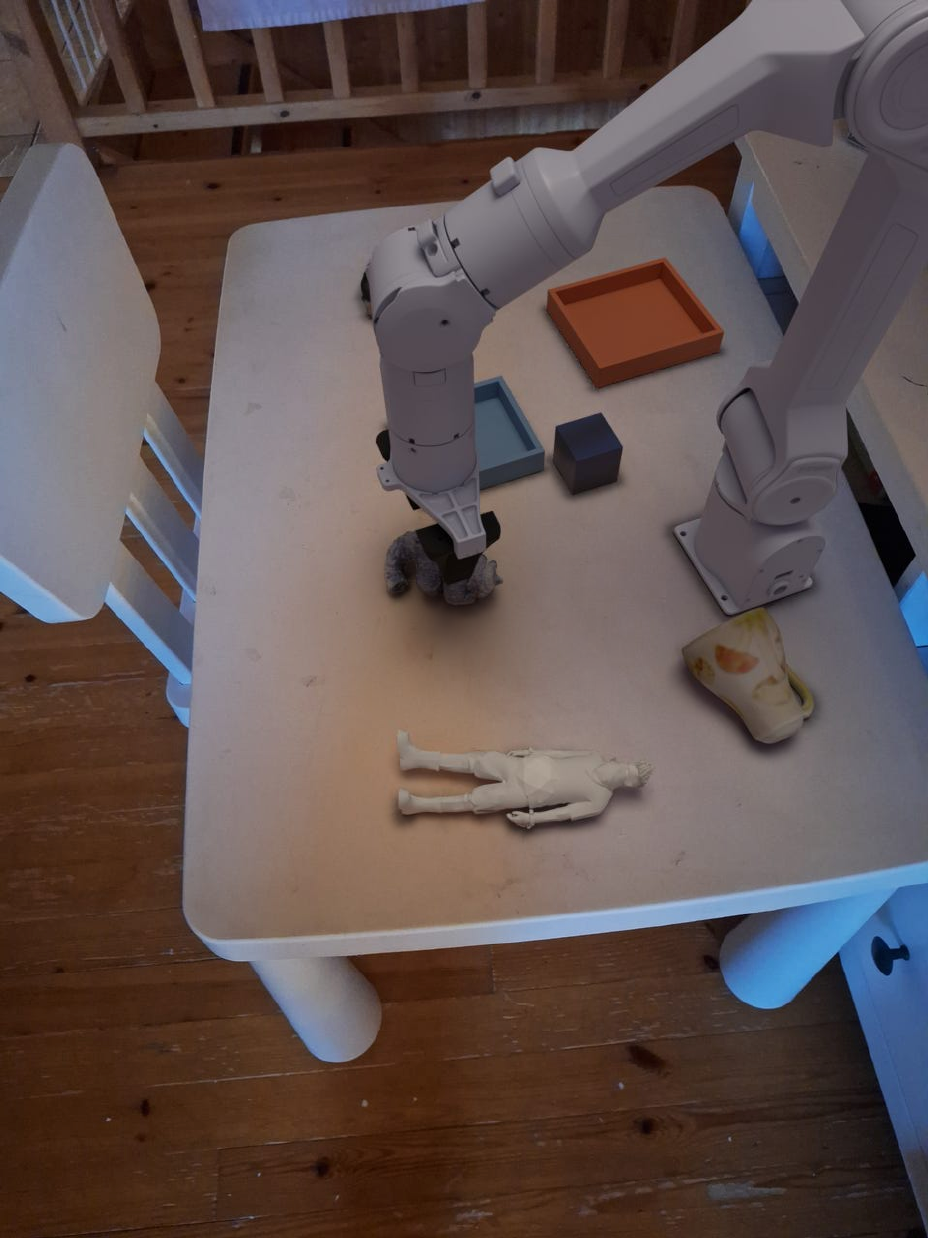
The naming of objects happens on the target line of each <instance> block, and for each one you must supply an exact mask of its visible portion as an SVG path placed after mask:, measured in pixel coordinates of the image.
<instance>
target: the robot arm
mask: <svg viewBox="0 0 928 1238" xmlns="http://www.w3.org/2000/svg"><path fill="white" fill-rule="evenodd" d="M840 119H845V121H846V125H847V127H848V130H849V132H850V133H851V134H852V136H853V137H854V139H855V140H856V141H857V142H858V143H859V144H861V146H864V147H865V148H867V150H868V149H869V151H868V153H867V156H866V158H865V160H864V162H863V164H862V165H861V166H862V167H861V169H860V171H859V172H858V175H857V177H856V179H855V181H854V184H853V186H852V188H851V190H850V192H849V195H848V197H847V199H846V201H845V203H844V205H843V208H842V209H841V212H840V214H839V216H838V218H837V220H836V222H835V225H834V227H833V229H832V231H831V233H830V236H829V238H828V239H827V242H826V244H825V247H824V249H823V251H822V253H821V255H820V257H819V259H818V261H817V264H816V266H815V268H814V270H813V272H812V274H811V276H810V279H809V281H808V283H807V286H806V287H805V289H804V292H803V294H802V296H801V298H800V301H799V302H798V305H797V307H796V309H795V311H794V313H793V316H792V317H791V320H790V322H789V324H788V325H787V326H788V327H787V329H786V331H785V333H784V335H783V337H782V339H781V342H780V343H779V346H778V348H777V350H776V352H775V355H774V357H773V358H772V359H767V360H762V361H758V362H756V363H752V364H750V365H749V366H748V368H747V370H746V372H745V375H744V377H742V380H741V381H740V383H739V384H738V385H737V386H736V387H735V388H734V389H733V390H732V391H731V392H729V394H727V396H726V397H725V398H724V399H723V400H722V402H721V403H720V405H719V407H718V409H717V411H716V424H717V428H718V429H719V432H720V433H721V435H723V438H724V441H723V442H724V443H723V446H722V448H721V451H722V455H721V457H720V459H719V460H718V463H717V466H716V469H715V473H714V476H713V478H712V482H711V485H710V489H709V491H708V495H707V498H706V501H705V503H704V504H705V505H704V508H703V511H702V514H701V517H698V518H696V519H692V520H689V521H686V522H683V523H680V524H677V525H675V527H674V529H673V533H674V535H675V538H676V539H677V540H678V541H679V543H680V545H681V546H682V548H683V549H684V551H685V553H686V554H687V556H688V558H689V559H690V560H691V562H692V563H693V565H694V567H695V569H696V570H697V572H698V573H699V575H700V576H701V578H702V579H703V581H704V583H705V584H706V586H707V587H708V589H709V591H710V592H711V593H712V595H713V598H715V600H716V601H717V603H718V605H719V606H720V608H721V610H723V613H725V614H726V615H728V616H734V615H736V614H739V613H742V612H745V611H748V610H752V609H753V608H756V607H759V606H761V605H765V604H768V603H770V602H773V601H776V600H779V599H782V598H784V597H787V596H790V595H794V594H795V593H799V592H801V591H804V590H808V589H810V588H811V587H812V585H813V584H814V583H813V579H812V577H811V574H812V572H813V570H814V568H815V567H816V565H817V563H818V561H819V559H820V557H821V555H822V553H823V552H824V549H825V547H826V539H825V537H824V534H823V533H822V531H821V530H820V527H819V526H818V524H817V521H816V519H815V515H817V514H818V513H820V512H821V511H823V510H824V509H825V508H826V507H827V506H828V505H829V504H830V503H831V502H832V500H833V499H834V498H835V497H836V495H837V494H838V491H839V489H840V485H841V482H840V481H841V480H840V471H841V468H842V466H843V464H844V462H845V461H846V459H847V458H848V454H849V444H848V443H849V441H848V423H847V422H848V421H847V401H848V399H849V398H850V396H851V394H852V393H853V391H854V389H855V387H856V386H857V383H858V382H859V380H860V379H861V377H862V375H863V373H864V371H866V368H867V366H868V365H869V363H870V361H871V359H872V357H873V356H874V354H875V352H876V351H877V349H878V348H879V346H880V344H881V343H882V340H883V339H884V337H885V336H886V334H887V331H888V330H889V328H890V326H891V325H892V323H893V321H894V320H895V318H896V317H897V315H898V313H899V312H900V309H901V307H902V306H903V305H904V303H905V301H906V299H907V297H908V296H909V294H910V292H911V290H912V289H913V287H914V286H915V283H916V282H917V280H918V278H919V277H920V275H921V274H922V271H923V270H924V269H925V266H926V265H927V263H928V0H751V1H750V3H749V4H748V6H747V7H746V8H745V10H743V12H742V13H741V14H740V15H739V16H738V17H737V18H736V19H735V20H734V21H732V22H731V23H730V24H729V25H728V26H726V27H725V28H724V29H722V30H721V31H719V33H718V34H716V35H715V36H714V37H712V38H711V39H710V40H709V41H708V42H706V43H705V44H704V45H702V46H701V47H700V48H699V49H697V50H696V51H695V52H693V53H692V54H691V55H690V56H689V57H687V58H686V59H685V60H684V61H683V62H681V63H680V64H679V65H677V66H676V67H675V68H674V69H673V70H672V71H670V72H669V73H668V74H666V75H664V77H663V78H662V79H660V80H659V81H657V82H656V83H655V84H654V85H653V86H651V87H650V88H649V89H648V90H646V91H645V92H644V93H642V94H641V95H640V96H639V97H638V98H637V99H635V100H634V101H633V102H631V103H630V104H629V105H628V106H626V107H625V108H624V109H623V110H622V111H620V112H619V113H618V114H616V115H615V116H614V117H613V118H612V119H610V120H609V121H608V122H606V123H605V124H604V125H603V126H602V127H600V128H599V129H598V130H596V131H595V132H594V133H592V135H590V136H589V137H588V138H587V139H586V140H584V141H583V142H582V143H580V144H579V145H578V146H577V147H575V148H574V149H573V150H562V149H556V148H555V149H554V148H547V147H534V148H533V149H532V150H530V151H529V152H527V153H526V154H525V155H523V156H522V157H521V158H519V159H517V161H515V160H514V159H513V158H512V157H511V156H507V157H505V158H504V159H503V160H501V161H500V162H499V163H497V164H496V165H494V166H493V167H492V168H490V170H489V175H490V180H489V181H488V182H486V183H485V184H483V185H482V186H480V187H479V188H478V189H477V190H475V191H473V192H472V193H470V194H469V195H468V196H467V197H465V198H464V199H463V200H461V201H459V202H458V203H457V204H455V205H454V206H453V207H451V208H450V209H448V210H447V211H445V212H444V213H443V214H441V215H440V216H439V217H438V218H436V219H435V220H433V219H431V218H429V219H427V220H425V221H424V222H423V223H422V224H415V225H408V226H404V227H401V228H399V229H396V230H395V231H393V232H392V233H390V234H388V235H387V236H385V237H384V238H383V239H382V240H381V241H380V242H379V243H378V244H377V245H376V246H375V248H374V250H373V251H372V258H369V261H368V264H369V266H367V265H366V266H367V267H366V266H365V271H366V276H367V279H368V282H369V287H370V297H371V308H372V318H373V319H372V318H371V319H372V327H373V329H372V330H373V334H374V336H375V341H376V344H377V347H378V351H379V355H380V356H379V371H380V378H381V385H382V392H383V400H384V408H385V409H384V410H385V416H386V422H387V428H386V429H384V430H382V431H380V432H379V433H378V434H377V435H376V437H375V444H376V446H377V449H378V450H379V452H380V455H381V457H382V459H383V460H384V461H386V462H384V463H383V462H382V463H380V464H379V465H378V466H376V475H377V479H378V481H379V484H380V485H381V488H382V490H383V491H386V492H393V491H396V490H398V491H402V492H403V493H404V495H405V497H406V500H407V502H408V503H409V506H410V508H411V509H412V510H413V511H417V510H420V509H422V510H423V512H425V513H426V514H427V515H428V516H429V517H430V518H431V519H432V520H433V521H434V522H436V523H434V524H431V525H430V524H429V525H427V526H425V527H421V528H418V529H415V530H416V535H417V537H418V539H419V542H420V544H421V546H422V548H423V551H424V552H425V554H426V555H427V557H428V558H429V559H430V560H431V561H434V562H436V563H437V566H438V569H439V571H440V574H441V576H442V578H443V580H444V582H445V583H446V585H451V584H454V583H457V582H460V581H463V580H466V579H469V578H471V576H472V574H473V572H474V570H475V567H476V565H477V563H478V560H479V558H480V557H481V555H482V554H484V553H485V552H486V551H487V550H488V549H489V548H490V547H491V546H492V545H493V544H495V543H496V542H497V541H499V540H500V538H501V535H502V531H501V530H502V526H501V524H500V522H499V520H498V518H497V516H496V514H495V512H494V510H489V511H486V512H483V513H481V500H480V499H481V496H480V494H481V493H480V490H481V489H480V490H479V458H478V452H477V450H476V447H475V401H474V383H475V358H474V354H473V353H474V351H475V350H476V348H477V347H478V345H479V342H480V340H481V337H482V333H483V331H484V330H485V328H487V326H489V325H490V324H492V323H493V322H494V318H495V317H496V316H497V312H498V311H499V310H501V309H502V308H504V307H506V306H507V305H508V304H510V303H512V302H513V301H515V300H517V299H518V298H519V297H521V296H523V295H525V294H526V293H527V292H529V291H531V290H532V289H533V288H535V287H537V286H538V285H540V284H541V283H543V282H544V281H546V280H548V279H549V278H551V277H553V276H554V275H555V274H557V273H558V272H560V271H562V270H563V269H565V268H567V266H570V265H571V264H573V263H574V262H575V261H578V259H579V260H580V258H582V257H584V256H585V255H587V254H588V253H589V252H591V250H593V248H594V245H595V243H596V241H597V238H598V234H599V231H600V228H601V225H602V223H603V220H604V218H605V215H606V214H608V213H609V212H611V211H613V210H614V209H616V208H618V207H620V206H621V205H623V204H625V203H628V202H629V201H630V200H633V199H634V198H636V197H638V196H639V195H641V194H643V193H645V192H647V191H648V190H650V189H652V188H653V187H656V186H657V185H659V184H661V183H662V182H664V181H666V180H668V179H669V178H671V177H673V176H675V175H677V174H679V173H680V172H682V171H684V170H686V169H688V168H689V167H691V166H693V165H694V164H696V163H698V162H699V161H703V159H705V158H707V157H708V156H710V155H712V154H714V153H716V152H718V151H719V150H721V149H723V148H725V147H726V146H728V145H730V144H732V143H733V142H736V141H737V140H739V139H741V138H742V137H745V136H746V135H748V134H749V133H751V132H755V131H756V132H757V131H761V132H764V133H768V134H772V135H776V136H779V137H783V138H786V139H789V140H792V141H793V140H794V141H798V142H800V143H803V144H807V145H812V146H815V147H819V148H830V147H832V146H833V143H834V142H833V141H834V121H835V120H840ZM365 271H364V272H365ZM724 599H725V600H724Z"/></svg>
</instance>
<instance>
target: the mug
mask: <svg viewBox="0 0 928 1238" xmlns="http://www.w3.org/2000/svg"><path fill="white" fill-rule="evenodd" d="M776 622H777V621H776V620H775V619H774V618H773V616H772V615H771V614H770V613H769V611H768V610H767V609H765V608H764V607H762V606H761V607H757V608H756V607H755V608H754V609H753V608H752V609H750V610H749V611H748V610H747V611H746V612H744V613H742V614H740V615H737V616H734V617H733V618H731V619H729V620H726V621H725V622H722V623H721V624H719V625H717V626H715V627H713V628H711V629H710V630H708V631H705V633H703V634H701V635H699V636H698V637H697V638H695V639H694V640H692V641H690V642H689V643H688V644H686V645H685V646H683V647H682V648H681V651H680V652H681V655H682V656H683V659H684V661H685V664H686V667H688V669H689V670H690V672H691V673H692V675H693V676H694V677H695V678H696V679H697V680H698V681H699V682H700V683H701V685H702V686H704V687H705V688H706V689H708V690H709V691H710V692H712V693H713V694H714V695H716V696H717V697H718V698H720V699H721V701H723V702H724V703H726V704H727V705H728V706H730V707H731V708H732V709H733V710H734V712H736V714H738V716H740V718H741V720H742V721H743V722H744V724H745V726H746V728H747V730H748V731H749V732H750V734H751V735H752V737H753V739H754V740H756V741H759V742H762V743H764V744H774V743H777V742H780V741H783V740H785V739H789V738H790V737H791V736H793V735H795V734H796V733H798V732H799V731H800V730H801V728H802V727H803V725H804V720H805V719H808V718H809V717H810V716H811V715H812V713H813V710H814V709H815V708H814V707H815V704H814V698H813V694H812V693H811V691H810V689H809V688H808V687H807V685H805V683H804V682H803V681H802V679H801V678H800V677H798V675H797V674H796V673H795V672H794V671H793V669H791V668H790V667H789V665H788V663H787V661H786V655H785V647H784V642H783V638H782V634H781V631H780V628H779V626H778V623H776ZM791 686H792V687H793V689H794V690H795V691H796V692H797V694H798V695H799V696H800V698H801V700H802V703H803V704H802V705H800V703H799V701H798V699H797V698H796V696H795V694H794V692H793V689H792V687H791Z"/></svg>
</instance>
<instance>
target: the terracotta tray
mask: <svg viewBox="0 0 928 1238" xmlns="http://www.w3.org/2000/svg"><path fill="white" fill-rule="evenodd" d="M546 296H547V297H546V298H547V299H546V311H547V313H548V315H549V316H550V317H551V319H552V321H553V322H554V324H555V326H556V327H557V328H558V330H559V331H560V333H561V335H562V336H563V338H564V339H565V341H566V342H567V344H568V345H569V347H570V349H571V350H572V352H573V353H574V355H575V356H576V358H577V359H578V361H579V363H580V364H581V365H582V368H583V369H584V370H585V372H586V373H587V375H588V376H589V378H590V379H591V381H592V383H593V384H594V386H595V387H596V388H597V389H599V388H602V387H603V388H604V387H606V386H610V385H612V384H617V383H620V382H623V381H626V380H630V379H632V378H636V377H639V376H643V375H646V374H649V373H653V372H656V371H659V370H663V369H666V368H670V367H673V366H676V365H679V364H682V363H686V362H690V361H693V360H697V359H699V358H703V357H706V356H710V355H713V354H716V353H719V352H720V350H721V346H722V342H723V338H724V335H725V330H724V329H723V328H722V327H721V326H720V324H719V323H718V322H717V320H716V319H715V318H714V316H713V315H712V314H711V313H710V311H708V309H707V308H706V307H705V305H704V304H703V303H702V301H701V300H700V299H699V298H698V297H697V295H696V294H695V292H693V290H692V289H691V288H690V287H689V285H688V284H687V283H686V282H685V280H684V279H683V278H682V277H681V275H680V274H679V272H678V271H677V270H676V268H675V267H674V266H673V265H672V264H671V262H670V261H669V260H668V258H667V257H665V256H664V257H661V258H658V259H654V260H651V261H647V262H644V263H640V264H635V265H632V266H627V267H625V268H621V269H618V270H615V271H610V272H607V273H603V274H600V275H597V276H593V277H589V278H585V279H581V280H578V281H575V282H571V283H568V284H567V283H566V284H564V285H560V286H556V287H553V288H548V289H547V294H546Z"/></svg>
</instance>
